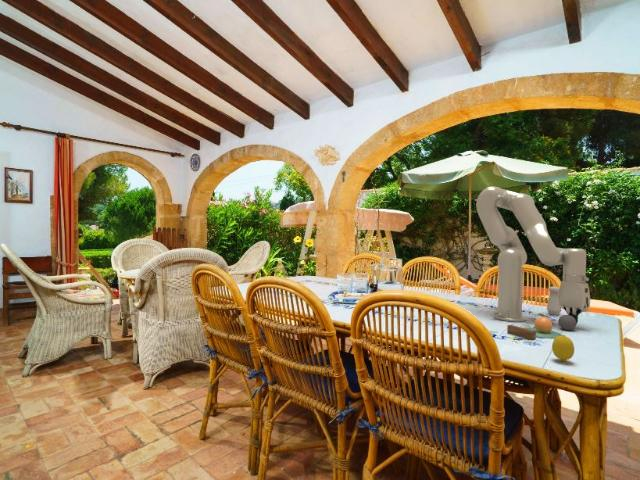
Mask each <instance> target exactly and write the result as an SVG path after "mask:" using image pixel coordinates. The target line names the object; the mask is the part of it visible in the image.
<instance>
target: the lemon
mask: <svg viewBox="0 0 640 480" xmlns="http://www.w3.org/2000/svg"><path fill="white" fill-rule="evenodd" d="M551 351H552V353H553V355H554V357H556V358H557V359H559V360H560V361H561V362H565V361H567V360H570V359H572V358H573V357H574V354H575V344H574V342H573V340H572V339H571V338H569V336H566V335H565V334H562V335H561V336H558V337H556V338H553V341H552V345H551Z"/></svg>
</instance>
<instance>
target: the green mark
mask: <svg viewBox="0 0 640 480" xmlns="http://www.w3.org/2000/svg"><path fill="white" fill-rule="evenodd" d="M524 328H525V329H529V330H533V331H536V338H543V339H555V338H556V337H558V336H561V335H563V334H561V332H558V331H555V330H551V331H550V332H548V333H542V332H539V331H538V330H537V329H536V328H535V327H524Z"/></svg>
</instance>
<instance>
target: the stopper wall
mask: <svg viewBox="0 0 640 480" xmlns="http://www.w3.org/2000/svg"><path fill="white" fill-rule="evenodd" d="M506 326H507V330H506V331H507V332H506V333H507V334H510V335H513V336H516V337H520V338H523V339H525V340H529V341H535V340H537V337H536V331H533V330H529V329H525V328H526V327H521V326H518V325H514V324H507V325H506Z"/></svg>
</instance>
